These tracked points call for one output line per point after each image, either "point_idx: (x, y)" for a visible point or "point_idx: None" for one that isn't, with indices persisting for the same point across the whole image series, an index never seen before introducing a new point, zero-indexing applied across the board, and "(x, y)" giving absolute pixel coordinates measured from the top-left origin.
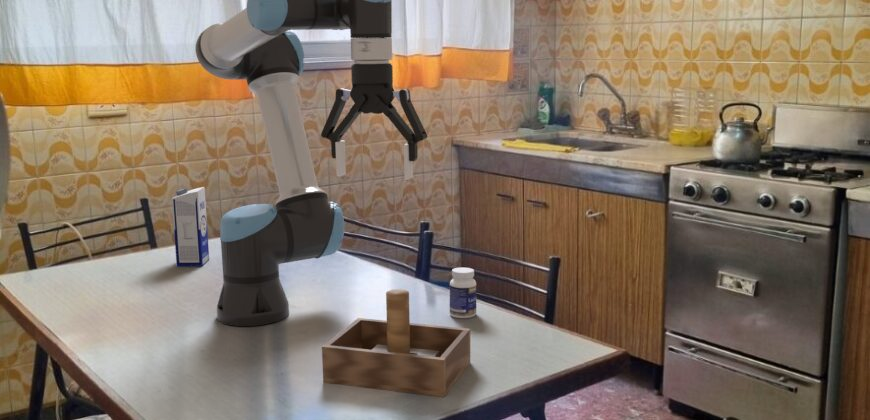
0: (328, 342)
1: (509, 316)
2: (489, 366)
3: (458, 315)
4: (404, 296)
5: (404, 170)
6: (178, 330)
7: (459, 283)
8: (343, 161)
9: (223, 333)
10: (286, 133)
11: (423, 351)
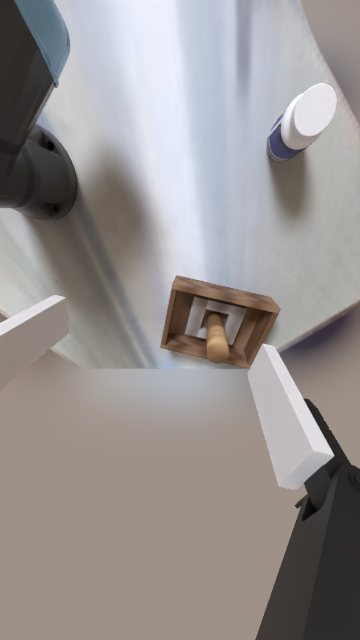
0: (162, 340)
1: (348, 139)
2: (285, 303)
3: (277, 160)
4: (225, 360)
5: (253, 393)
6: (4, 234)
7: (296, 143)
8: (36, 331)
9: (46, 239)
10: None
11: (233, 310)
